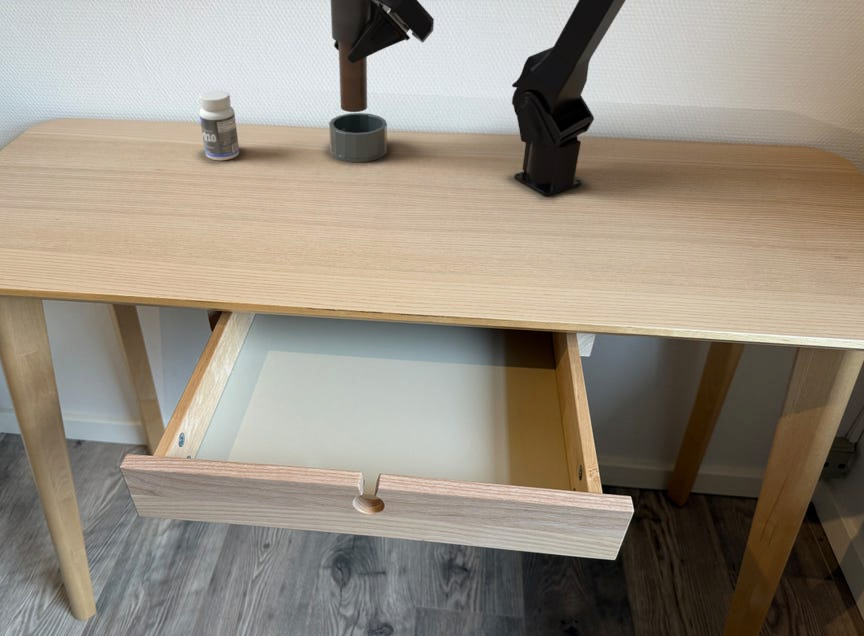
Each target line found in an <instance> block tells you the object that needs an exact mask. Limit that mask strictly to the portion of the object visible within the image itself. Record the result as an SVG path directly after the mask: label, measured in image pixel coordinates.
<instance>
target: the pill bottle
mask: <svg viewBox="0 0 864 636" xmlns="http://www.w3.org/2000/svg"><path fill="white" fill-rule="evenodd" d="M199 105H200V107H201V108H200V110H199V113H198V114H199V115H198V116H199V121H200V127H201V133H202V140H203V147H204V152H205V155H206V157H207V158H208V159H210V160H212V161H227V160H231V159H234V158H236V157H237V156H239V154H240V147H239V146H240V145H239V138H238V130H237V123H236V113H235V110H234V108H233V107H232V106H231V97H230V93H229V92H228V91H226V90H223V89H222V90H221V89H211V90H210V89H209V90H206V91H203V92H201V93H200V94H199Z"/></svg>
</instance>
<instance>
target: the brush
mask: <svg viewBox="0 0 864 636" xmlns="http://www.w3.org/2000/svg"><path fill="white" fill-rule="evenodd" d="M370 1H371V0H330V19H331V21H330V22H331V38H332V39H333V40H334V41H338V42H339V51H338V67H339V69H338V70H339V71H338V72H339V99H340V100H339V101H340V110H342V111H344V112H347V113H348V112H350V113H361V112H364V111H365V110H367V109H368V56H367V57H365V58H363V59H361V60H359V61H357V62H355V63H351V62H350V61H349V60H348V59H347V55H348V53H349V51H350V50H351V48H352V46H353V44H354V43H355V41H356V40H357V38H358V37H359V35H360V33H361V32H362V30H363V29H364V27H365V26H366V24H367V22H368V21H369V19H370Z"/></svg>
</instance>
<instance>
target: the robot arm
mask: <svg viewBox="0 0 864 636" xmlns="http://www.w3.org/2000/svg"><path fill="white" fill-rule="evenodd" d="M625 2H626V0H578V1H577V3H576V4H575V7H574V9H573V10H572V12H571V14H570V16H569V17H568V20H567V21H566V23H565V25H564V27H563V28H562V31H561V32H560V34H559V36H558V38H557V40H556V41H555V43H554V45H553V46H552V47H549V48H547V49H544V50H542V51H539V52H537V53H535V54H532V55H530V56H528V57H527V58H526V60H525V63H524V65H523V67H522V70H521V73H520V75H519V77H518V78H517V79H516V81H514V82H513V83H512V85H511V86H512V88H516V89H515V90H514V92H513V95H512V96H511V97H512V98H511V105H512V106H513V110H514V113H515V115H516V119H517V124H518V130H519V137H520V141H521V142H522V143H525V147H524V153H523V154H524V155H523V163H522V171H521V172H517V173H514V175H513V179H514V180H515V181H518V182H519V183H521V184H523V185H525V186H526V187H528V188H530V189H532V190H534V191H535V192H537V193H538V194H541V195H542V196H552V195H555V194H558V193H561V192H564V191H567V190H570V189H574V188H577V187H580V186H582V185H583V180H582V179H579V178H578V177H576V171H577V165H578V160H579V154H580V149H581V143H582V141H581V140H578V139H579V138H578V136H580V135H582V134H585V133H587V132H588V130H589V129H590V127H591V126H592V124H593V122H594V120H595V116H594V115H593V113H592V112H591V110H590V108H589V106H588V105H587V103H586V101H585V100H584V98H583V96H582V93H583V91H584V88H585V86H586V83H587V80H588V73H589V67H590V61H591V59H592V57H593V55H594V53H596V51H597V49H598V48H599V45H600V44H601V42H602V41H603V39H604V37H605V36H606V34H607V33H608V30H609V29H610V27H611V26H612V24H613V22H614V21H615V20H616V17H617V16H618V13H619V12H620V11H621V9H622V8H623V6H624V5H625ZM434 21H435V18H433V17H432V15H431V14H430V13H429V12H428V10H427V9H426V8H425V7H424V6H423V5H422V4H421V2H420V1H419V0H371V1H370V19H369V21H368V22H367V24H366V26H365V27H364V29H363V30H362V32H361V33H360V35H359V37H358V38H357V40H356V41H355V43H354V44H353V46H352V48H351V50H350V51H349V53H348V55H347V59H348V60H349V61H350V62H351V63H355V62H357V61H359V60H361V59H363V58H365V57H367V58H368V57H369V56H371V55H373V54H375V53H377V52H380V51H382V50H384V49H386V48H388V47H391V46H393V45H396V44H399V43H401V42H403V41H409V40H410V39H411V37H410V35H409V34H407V33H408V32H409V31H411V35H412V37H414V38H415V39H416V40H418V42H421V43H422V44H424V42H425V41H426V40H427V39H428V38H429V36H431V34H432V33H433V32H434V23H435V22H434ZM333 47H334V48H335V49H336V50H337V51H338V52H339V42H338V41H336V40H334V43H333Z"/></svg>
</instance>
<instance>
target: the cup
mask: <svg viewBox="0 0 864 636" xmlns="http://www.w3.org/2000/svg"><path fill="white" fill-rule="evenodd" d="M328 131H329V132H328V135H329V149H330V154H331V155H332V157H334V158H335V159H337V160H340V161H344V162H347V163H348V162H349V163H366V162H368V163H369V162H373V161H376V160H379V159H381V158H382V157H384V156H385V155H386V154H387V147H388V123H387V121H386V119H385V118H383V117H381V116H380V115H376V114H373V113H366V112H365V113H364V112H350V113H346V114H345V113H344V114H340V115H337V116H335V117H333V118H331V120H330V121H329V122H328Z"/></svg>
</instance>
